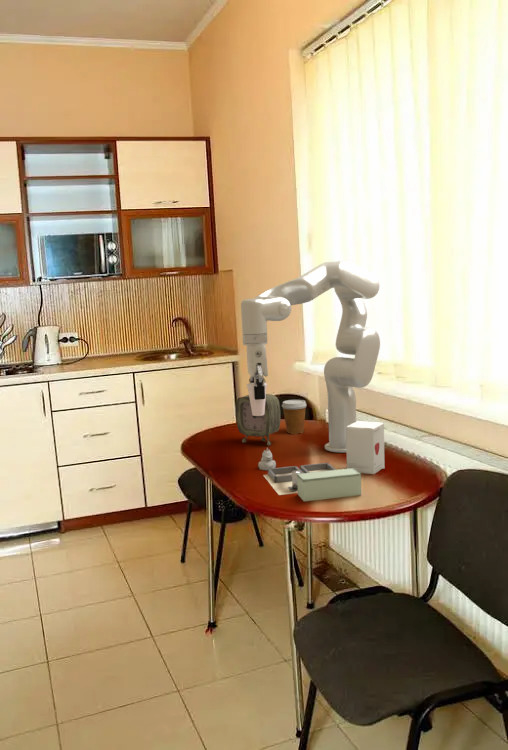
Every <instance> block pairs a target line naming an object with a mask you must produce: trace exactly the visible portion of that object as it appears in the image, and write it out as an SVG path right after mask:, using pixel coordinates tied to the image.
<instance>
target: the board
mask: <svg viewBox="0 0 508 750" xmlns="http://www.w3.org/2000/svg"><path fill="white" fill-rule="evenodd" d="M320 471H328V470H327V469H324V470H314V471H309V472H320ZM291 474H292V473H286V474H276V476H282V475H291ZM262 476H263V477H264V478H265V480H266V481H267V482H268V483H269V485H270V486H271V487H272V489H273V490H274V491H275V492H276V493H277V495H278V496H284V495H293V494H298V490H295V489H292V481H289V482H280V483H274V481H273V480H272V479H271V478H270V476H269V475H268V474H263V475H262Z"/></svg>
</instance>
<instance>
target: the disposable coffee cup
mask: <svg viewBox="0 0 508 750" xmlns="http://www.w3.org/2000/svg"><path fill="white" fill-rule="evenodd" d="M307 405H308V404H307V402H306V400H304V399H288V400H284V401H282V404H281V407H282V409H283V411H282V412H283V415H284V422H285V428H286V433H287V432H288V433H291V434H290V435H299V434H298V433H301V434H303V433H305V432H304V431H305V430H304V429H305V421H306V420H305V419H306V418H305V417H306V408H307ZM288 433H287V434H288Z"/></svg>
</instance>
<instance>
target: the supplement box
mask: <svg viewBox="0 0 508 750" xmlns="http://www.w3.org/2000/svg"><path fill="white" fill-rule="evenodd" d="M346 450H347V452H346V469H348V468H354V469H355V470H357V471H358V472H359V473H360V474H366V475H375V474H376V473H378V472H379V471H381V470H382V469H384V470H385V423H384V422H377V421H375V422H374V421H365V420H364V421H363V420H356V422H355V423H352V424H351V425H349V426H347V427H346Z"/></svg>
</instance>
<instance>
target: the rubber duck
mask: <svg viewBox="0 0 508 750" xmlns="http://www.w3.org/2000/svg"><path fill="white" fill-rule="evenodd" d="M276 466H277V463H276V460H274V459H273V453H272V452H271V450H270V449H269V448H268V447H266V450H265V449H264V450H263V451H262V453H261V458H260V461H259V462H258V469H259V470H261V471H268V469H272V468H277V467H276Z"/></svg>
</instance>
